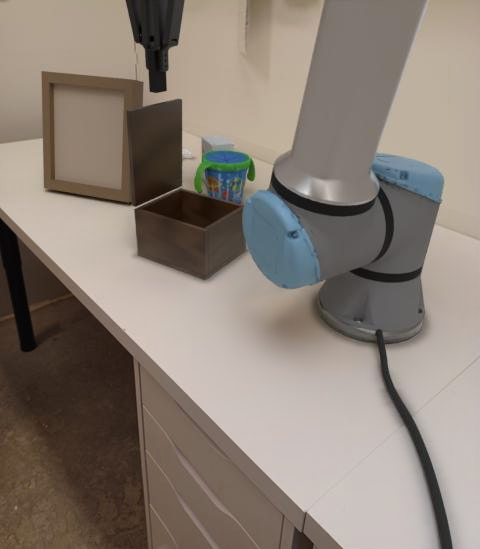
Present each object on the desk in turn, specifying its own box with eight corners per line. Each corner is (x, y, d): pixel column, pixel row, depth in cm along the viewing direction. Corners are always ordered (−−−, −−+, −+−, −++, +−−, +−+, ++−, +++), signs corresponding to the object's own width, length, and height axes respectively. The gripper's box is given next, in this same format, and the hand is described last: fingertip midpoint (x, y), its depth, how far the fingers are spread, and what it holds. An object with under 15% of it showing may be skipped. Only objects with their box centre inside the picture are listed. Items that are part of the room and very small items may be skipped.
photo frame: (129, 206, 102) (117, 83, 90) (44, 192, 108) (22, 74, 95) (160, 185, 114) (154, 73, 102) (83, 173, 120) (68, 66, 107)
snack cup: (241, 187, 115) (242, 146, 109) (266, 202, 107) (269, 158, 102) (183, 199, 107) (182, 154, 102) (207, 215, 99) (207, 168, 94)
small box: (233, 187, 115) (234, 143, 110) (211, 189, 113) (211, 145, 108) (222, 176, 121) (223, 135, 116) (201, 178, 119) (201, 136, 114)
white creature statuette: (173, 166, 127) (172, 120, 121) (148, 160, 131) (145, 115, 125) (194, 157, 134) (193, 114, 128) (169, 152, 138) (167, 109, 132)
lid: (182, 99, 80) (178, 98, 80) (130, 111, 71) (126, 110, 71) (182, 186, 88) (179, 185, 88) (135, 207, 79) (131, 205, 79)
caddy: (245, 250, 86) (247, 205, 82) (205, 280, 77) (205, 231, 73) (182, 230, 93) (180, 187, 88) (137, 255, 84) (133, 209, 79)
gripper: (202, -78, 68) (201, 94, 81) (136, -76, 74) (145, 83, 87) (167, -85, 63) (173, 100, 75) (99, -83, 69) (114, 88, 81)
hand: (158, 91), depth 81 cm, fingers closed
